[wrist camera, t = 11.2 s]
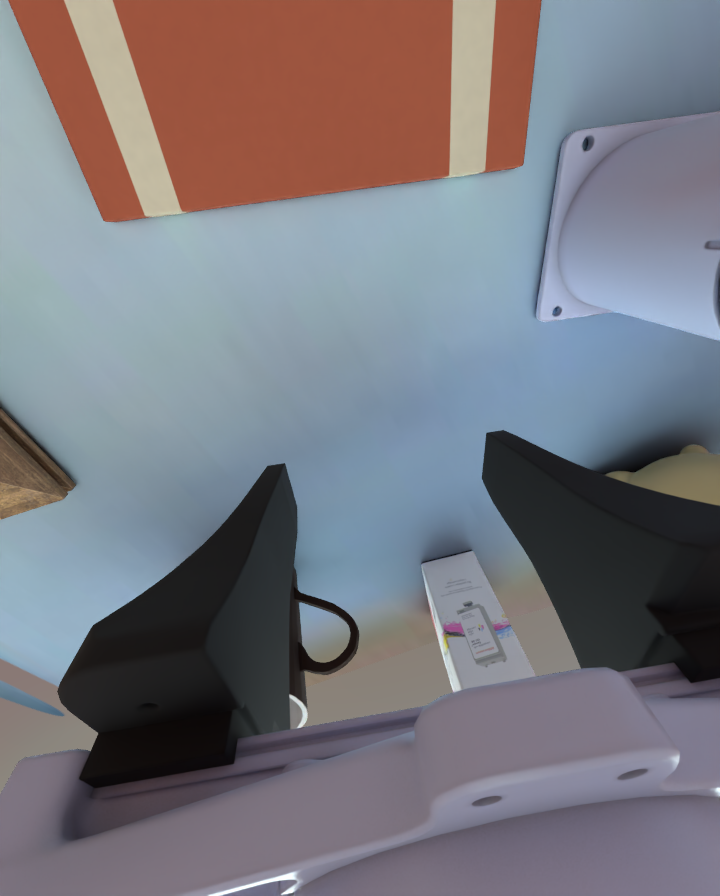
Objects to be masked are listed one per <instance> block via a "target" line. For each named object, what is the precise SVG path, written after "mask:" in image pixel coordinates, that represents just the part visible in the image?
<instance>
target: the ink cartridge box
mask: <svg viewBox="0 0 720 896" xmlns="http://www.w3.org/2000/svg"><path fill="white" fill-rule="evenodd" d="M421 567H422V572H423V577H424V582H425V587H426V592H427V597H428V602H429V606H430V611H431V615H432V621H433V624H434V627H435V631H436V634H437V638H438V641H439V645H440V648H441V652H442V655H443V659H444V662H445V666H446V669H447V672H448V676H449V679H450V682H451V686H452V689H453V692H457V691H460V690H463V689H467V688H473V687H479V686H484V685H490V684H496V683H502V682H507V681H513V680H519V679H525V678H530V677H536V674H535V672H534V671H533V668H532V666H531V665H530V663H529V661H528V659H527V657H526V655H525V653H524V651H523V649H522V647H521V645H520V643H519V641H518V639H517V637H516V635H515V633H514V631H513V629H512V627H511V625H510V623H509V621H508V619H507V617H506V615H505V614H504V612H503V610H502V607H501V605H500V603H499V601H498V599H497V597H496V595H495V593H494V591H493V589H492V587H491V585H490V583H489V581H488V579H487V577H486V576H485V574H484V572H483V570H482V568H481V566H480V564H479V562H478V560H477V557H476V555H475V553H474V551H470V552H466V553H462V554H458V555H454V556H450V557H446V558H442V559H438V560H434V561H430V562H426V563H423V564H421Z"/></svg>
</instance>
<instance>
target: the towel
mask: <svg viewBox="0 0 720 896" xmlns="http://www.w3.org/2000/svg"><path fill="white" fill-rule="evenodd" d="M8 1H9V3H10V6H11V8H12V10H13V12H14V15H15V17H16V19H17V22H18V24H19V26H20V29H21V31H22V33H23V36H24V38H25V40H26V43H27V45H28V47H29V49H30V52H31V54H32V56H33V59H34V61H35V63H36V66H37V68H38V70H39V73H40V75H41V77H42V80H43V82H44V84H45V86H46V89H47V91H48V93H49V96H50V98H51V100H52V103H53V105H54V107H55V110H56V112H57V114H58V116H59V119H60V121H61V123H62V126H63V128H64V130H65V133H66V135H67V137H68V140H69V142H70V144H71V147H72V149H73V151H74V153H75V156H76V158H77V160H78V163H79V165H80V167H81V170H82V172H83V174H84V177H85V179H86V181H87V184H88V186H89V188H90V190H91V193H92V195H93V197H94V200H95V202H96V204H97V207H98V209H99V211H100V214H101V216H102V218H103V220H104V221H106V222H119V221H127V220H134V219H141V218H149V217H161V216H168V215H176V214H183V213H188V212H194V211H201V210H209V209H216V208H224V207H231V206H238V205H246V204H253V203H261V202H268V201H276V200H283V199H291V198H298V197H306V196H313V195H321V194H328V193H335V192H343V191H350V190H358V189H365V188H373V187H380V186H388V185H395V184H403V183H410V182H418V181H425V180H432V179H440V178H443V179H445V178H452V177H459V176H467V175H474V174H478V173H485V172H492V171H500V170H507V169H513V168H517V167H520V166H522V165H523V163H524V154H525V145H526V136H527V127H528V118H529V109H530V100H531V91H532V82H533V73H534V64H535V55H536V46H537V37H538V28H539V19H540V10H541V1H542V0H8Z"/></svg>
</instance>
